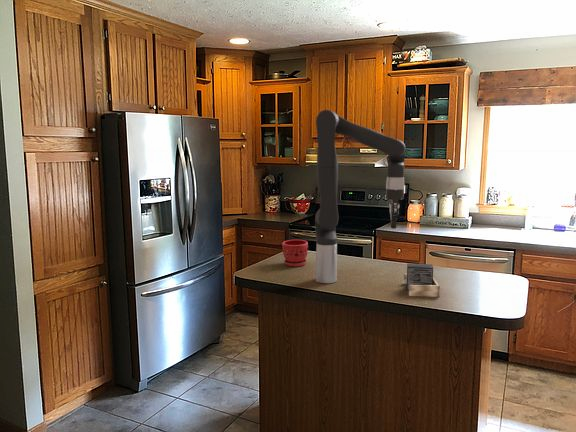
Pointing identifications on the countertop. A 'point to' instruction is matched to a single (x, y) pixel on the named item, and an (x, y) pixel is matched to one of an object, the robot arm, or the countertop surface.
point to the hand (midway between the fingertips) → (393, 228)
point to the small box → (419, 274)
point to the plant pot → (295, 252)
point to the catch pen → (423, 289)
